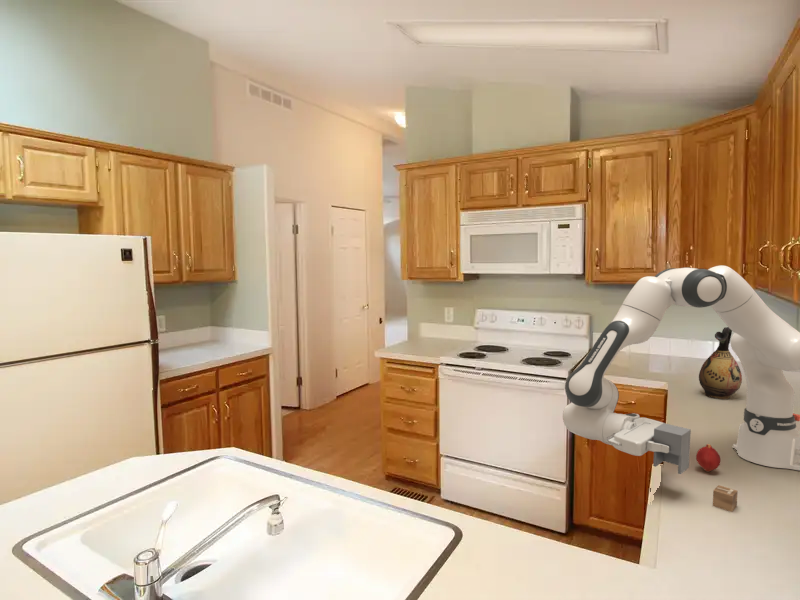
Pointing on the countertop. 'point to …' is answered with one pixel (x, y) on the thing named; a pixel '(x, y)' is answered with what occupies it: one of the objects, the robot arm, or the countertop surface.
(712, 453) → the pomegranate
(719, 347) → the ceramic jug
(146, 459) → the countertop surface
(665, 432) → the grey block
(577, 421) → the robot arm
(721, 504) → the letter block
